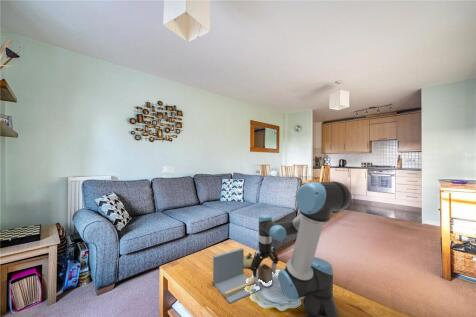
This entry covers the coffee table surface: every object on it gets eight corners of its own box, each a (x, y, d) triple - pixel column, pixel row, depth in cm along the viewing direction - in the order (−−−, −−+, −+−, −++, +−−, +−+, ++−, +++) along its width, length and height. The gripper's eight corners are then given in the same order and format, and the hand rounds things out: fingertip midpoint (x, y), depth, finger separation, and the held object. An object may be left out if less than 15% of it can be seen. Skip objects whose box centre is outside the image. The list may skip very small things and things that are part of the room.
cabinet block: (272, 284, 112) (272, 267, 113) (266, 287, 110) (266, 269, 110) (264, 278, 118) (264, 261, 119) (257, 281, 116) (258, 264, 116)
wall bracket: (261, 289, 108) (261, 260, 108) (229, 304, 97) (230, 271, 97) (240, 272, 125) (240, 247, 125) (212, 283, 114) (212, 255, 114)
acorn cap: (254, 271, 127) (259, 256, 133) (238, 263, 129) (244, 249, 135) (252, 274, 134) (256, 259, 141) (237, 267, 137) (243, 252, 143)
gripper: (276, 235, 125) (275, 268, 125) (243, 244, 111) (243, 281, 111) (284, 239, 119) (284, 274, 118) (252, 249, 105) (251, 289, 105)
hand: (264, 278), depth 115 cm, fingers open, 13 cm apart
